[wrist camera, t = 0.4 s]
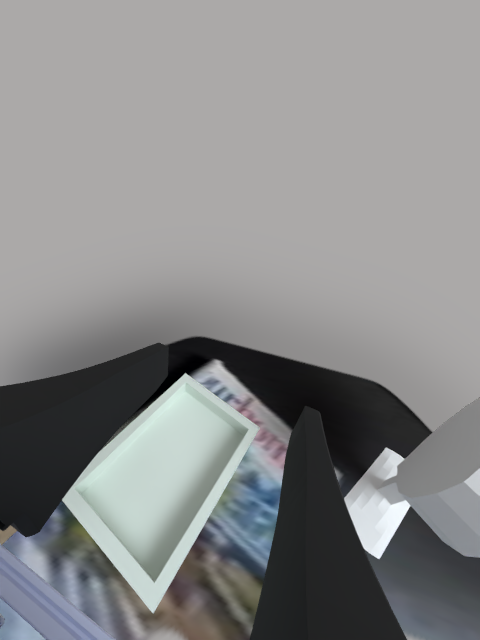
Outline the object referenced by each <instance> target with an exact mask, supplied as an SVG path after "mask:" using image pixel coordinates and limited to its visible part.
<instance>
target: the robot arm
mask: <svg viewBox="0 0 480 640" xmlns="http://www.w3.org/2000/svg"><path fill="white" fill-rule="evenodd" d="M168 350H169V347H168V346H165V345H163V344H161V343H156V344H154V345H151V346H148V347H146V348H143V349H140V350H138V351H135V352H133V353H130V354H127V355H124V356H121V357H119V358H116V359H113V360H110V361H107V362H104V363H101V364H98V365H95V366H92V367H89V368H86V369H82V370H78V371H75V372H71V373H67V374H63V375H59V376H55V377H50V378H45V379H40V380H35V381H30V382H25V383H20V384H13V385H7V386H0V529H1V530H2V531H5V530H6V529H7V528H8V527H9V526H10V525H11V526H12V527H13V528H15V529H16V530H17V531H18V532H20V533H21V534H22V535H24V536H25V537H29V536H32V535H35V534H36V533H38V532H40V530H41V529H42V527H43V526H44V524H45V523H46V521H47V520H48V519H49V517H50V516H51V514H52V513H53V512H54V510H55V509H56V507H57V506H58V505H59V503H60V502H61V500H62V499H63V498H64V496H65V495H66V494H67V492H68V491H69V490H70V488H71V487H72V486H73V484H74V483H75V482H76V480H77V479H78V478H79V476H80V475H81V474H82V472H83V471H84V470H85V469H86V467H87V466H88V465H89V464H90V462H91V461H92V460H93V459H94V457H95V456H96V455H97V454H98V452H99V451H100V450H101V449H102V447H103V446H104V445H105V444H106V443H107V441H108V440H109V439H110V438H111V437H112V435H113V434H114V433H115V432H116V431H117V430H118V429H119V428H120V427H121V426H122V425H123V424H124V423H125V422H126V421H127V420H128V419H129V418H130V417H131V416H132V415H133V414H134V413H135V412H136V411H137V410H138V409H139V408H140V407H141V406H142V405H143V404H144V403H145V402H146V401H147V400H148V399H149V398H150V397H151V396H152V394H153V393H154V392H155V391H156V390H157V389H158V388H159V386H160V385H161V384H162V382H163V381H164V380H165V378H166V377H167V376H168ZM0 598H1V599H3V600H4V601H5V602H6V603H7V604H8V605H9V606H10V607H11V608H12V609H14V610H15V611H16V612H17V613H18V614H19V615H20V616H21V617H22V618H23V619H24V620H26V621H27V622H28V623H29V624H30V625H31V626H32V627H33V628H34V629H35V630H37V631H38V632H39V633H40V634H41V635H42V636H43V637H44V638H45V639H46V640H116V639H114V638H113V637H112V636H111V635H109V634H108V633H107V632H106V631H105V630H103V629H102V628H101V627H100V626H99V625H97V624H96V623H95V622H94V621H93V620H91V619H90V618H89V617H88V616H87V615H85V614H84V613H83V612H82V611H81V610H79V609H78V608H77V607H76V606H75V605H73V604H72V603H71V602H70V601H69V600H67V599H66V598H65V597H64V596H63V595H61V594H60V593H59V592H58V591H57V590H55V589H54V588H53V587H52V586H51V585H49V584H48V583H47V582H46V581H45V580H43V579H42V578H41V577H40V576H39V575H37V574H36V573H35V572H34V571H33V570H31V569H30V568H29V567H28V566H27V565H25V564H24V563H23V562H22V561H21V560H19V559H18V558H17V557H16V556H15V555H13V554H12V553H11V552H10V551H9V550H7V549H6V548H5V547H4V546H3V545H1V544H0ZM4 620H5V619H4V618H3V616H2V615H1V614H0V628H1V627H2V625H3V624H4ZM250 640H407V639H406V637H405V635H404V633H403V631H402V629H401V627H400V625H399V623H398V621H397V619H396V617H395V615H394V613H393V611H392V609H391V607H390V605H389V602H388V600H387V598H386V596H385V594H384V592H383V590H382V587H381V585H380V583H379V581H378V579H377V577H376V575H375V572H374V570H373V568H372V566H371V564H370V562H369V560H368V557H367V555H366V553H365V550H364V548H363V546H362V543H361V541H360V539H359V536H358V534H357V532H356V529H355V526H354V524H353V521H352V519H351V516H350V514H349V511H348V509H347V506H346V503H345V500H344V498H343V495H342V492H341V489H340V486H339V483H338V480H337V477H336V474H335V470H334V467H333V464H332V460H331V457H330V453H329V450H328V446H327V442H326V438H325V433H324V429H323V424H322V419H321V414H320V412H319V411H317V410H315V409H312V408H310V407H308V406H305V407H304V409H303V411H302V413H301V415H300V417H299V419H298V421H297V423H296V425H295V427H294V429H293V431H292V433H291V437H290V441H289V445H288V449H287V453H286V458H285V466H284V473H283V480H282V488H281V495H280V503H279V510H278V517H277V523H276V528H275V533H274V537H273V542H272V547H271V551H270V556H269V560H268V565H267V569H266V573H265V578H264V582H263V587H262V591H261V595H260V599H259V604H258V608H257V612H256V616H255V620H254V625H253V629H252V633H251V637H250Z"/></svg>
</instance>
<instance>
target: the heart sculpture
mask: <svg viewBox="0 0 480 640" xmlns="http://www.w3.org/2000/svg"><path fill="white" fill-rule="evenodd" d="M344 500H345V503H346V506H347V509H348V511H349V514H350V516H351V519H352V521H353V524H354V526H355V529H356V532H357V534H358V536H359V539H360V541H361V543H362V546H363V548H364V549H365V550H366V551H368V552H369V553H370V554H372V555H373V556H375V557H377V558H378V559H380V557H381V555H382V554H383V552H384V550H385V548H386V547H387V545H388V543H389V542H390V540H391V538H392V536H393V535H394V533H395V531H396V529H397V528H398V526H399V524H400V523H401V521H402V519H403V517H404V516H405V514H406V512H407V510H408V509H409V507H410V505H411V506H412V508H413V509H414V510H415V511H416V512H417V513H418V514H419V515H420V516H421V517H422V519H423V520H424V521H425V522H426V523H427V524H428V525H429V526H430V527H431V529H432V530H433V531H434V532H435V533H436V534H437V535H438V536H439V537H440V539H441V540H442V541H443V542H445V543H446V544H448V545H449V546H451V547H452V548H453V549H455V550H456V551H458V552H459V553H461V554H462V555H464V556H469V557H480V397H479V398H478V399H476V400H475V401H473V402H472V403H470V404H468V405H467V406H465V407H464V408H463V409H461V410H460V411H459V412H458V413H456V414H455V415H454V416H452V417H451V418H450V419H448V420H447V421H446V422H445V423H443V424H442V425H441V426H440V427H439V428H438V429H436V430H435V431H434V432H433V433H432V434H431V435H430V436H429V437H427V438H426V439H425V440H424V441H423V442H422V443H421V444H420V445H419V446H418V447H417V448H416V449H415V450H414V451H413V452H412V453H411V454H410V455H409V456H408V457H406V458H405V459H404V458H403V457H401V456H400V455H398V454H397V453H395V452H394V451H392V450H390V449H388V448H385V450H384V451H383V452H382V453H381V455H380V456H379V457H378V458H377V459H376V461H375V462H374V463H373V464H372V465H371V467H370V468H369V469H368V470H367V471H366V473H365V474H364V475H363V476H362V477H361V479H360V480H359V481H358V482H357V483H356V485H355V486H354V487H353V488H352V490H351V491H350V492H349V493H348V494H347V496H346V497H345V498H344Z"/></svg>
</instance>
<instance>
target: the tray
mask: <svg viewBox="0 0 480 640" xmlns="http://www.w3.org/2000/svg"><path fill="white" fill-rule="evenodd" d="M259 429H260V428H259V427H258V426H257V425H255V424H254V423H253V422H251V421H250V420H249V419H247V418H246V417H244V416H243V415H242V414H240V413H239V412H238V411H236V410H235V409H234V408H232V407H231V406H229V405H228V404H227V403H225V402H224V401H223V400H221V399H220V398H219V397H217V396H216V395H214V394H213V393H212V392H210V391H209V390H208V389H206V388H205V387H204V386H202V385H201V384H199V383H198V382H197V381H195V380H194V379H193V378H191V377H190V376H189V375H187V374H186V373H185V374H184V375H183V376H182V377H181V378H180V379H179V380H178V381H177V382H175V383H174V384H173V385H172V386H171V387H170V388H169V389H168V390H167V391H166V392H164V393H163V394H162V395H161V396H160V397H159V398H158V399H157V400H156V401H155V402H153V403H152V404H151V405H150V406H149V407H148V408H147V409H146V410H145V411H144V412H142V413H141V414H140V415H139V416H138V417H137V418H136V419H135V420H134V421H133V422H131V423H130V424H129V425H128V426H127V427H126V428H125V429H124V430H123V431H122V432H121V433H119V434H118V435H117V436H116V437H115V438H114V439H113V440H112V441H111V442H110V443H108V444H107V445H106V446H105V447H104V448H103V449H102V450H101V451H100V452H99V453H98V454H97V455H96V456H95V457H94V459H93V460H92V461H91V462H90V464H89V465H88V466H87V467H86V469H85V470H84V471H83V472H82V474H81V475H80V476H79V478H78V479H77V480H76V482H75V483H74V484H73V486H72V487H71V488H70V490H69V491H68V492H67V494H66V495H65V496H64V498H63V499H62V501H63V502H64V503H65V504H66V506H67V507H68V508H69V509H70V511H71V512H72V513H73V514H74V516H75V517H76V518H77V519H78V521H79V522H80V523H81V524H82V526H83V527H84V528H85V529H86V531H87V532H88V533H89V534H90V536H91V537H92V538H93V539H94V541H95V542H96V543H97V544H98V546H99V547H100V548H101V549H102V551H103V552H104V553H105V554H106V556H107V557H108V558H109V559H110V561H111V562H112V563H113V564H114V566H115V567H116V568H117V569H118V570H119V572H120V573H121V574H122V575H123V577H124V578H125V579H126V580H127V582H128V583H129V584H130V585H131V587H132V588H133V589H134V590H135V592H136V593H137V594H138V595H139V597H140V598H141V599H142V600H143V602H144V603H145V604H146V605H147V607H148V608H149V609H150V610H151V612H152V613H154V611H155V610H156V608H157V606H158V604H159V603H160V601H161V599H162V597H163V596H164V594H165V592H166V590H167V589H168V587H169V585H170V583H171V582H172V580H173V578H174V576H175V575H176V573H177V571H178V569H179V568H180V566H181V564H182V563H183V561H184V559H185V557H186V556H187V554H188V552H189V550H190V549H191V547H192V545H193V543H194V542H195V540H196V538H197V536H198V535H199V533H200V531H201V529H202V528H203V526H204V524H205V523H206V521H207V519H208V517H209V516H210V514H211V512H212V510H213V509H214V507H215V505H216V503H217V502H218V500H219V498H220V496H221V495H222V493H223V491H224V489H225V488H226V486H227V484H228V482H229V481H230V479H231V477H232V476H233V474H234V472H235V470H236V469H237V467H238V465H239V463H240V462H241V460H242V458H243V456H244V455H245V453H246V451H247V449H248V448H249V446H250V444H251V442H252V441H253V439H254V437H255V436H256V434H257V432H258V430H259Z"/></svg>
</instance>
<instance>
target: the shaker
mask: <svg viewBox="0 0 480 640" xmlns="http://www.w3.org/2000/svg"><path fill="white" fill-rule="evenodd" d="M16 531H17V530H16V529H15V528H13V527H12V526H11V525H10V526H9V527H8V528H7V529H6V530H5V531H2V530H1V529H0V544H1V545H2V544H3V543H4V542H5V541H6V540H7V539H9V538H10V537H11V536H12V535H13V534H14V533H15V532H16Z"/></svg>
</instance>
